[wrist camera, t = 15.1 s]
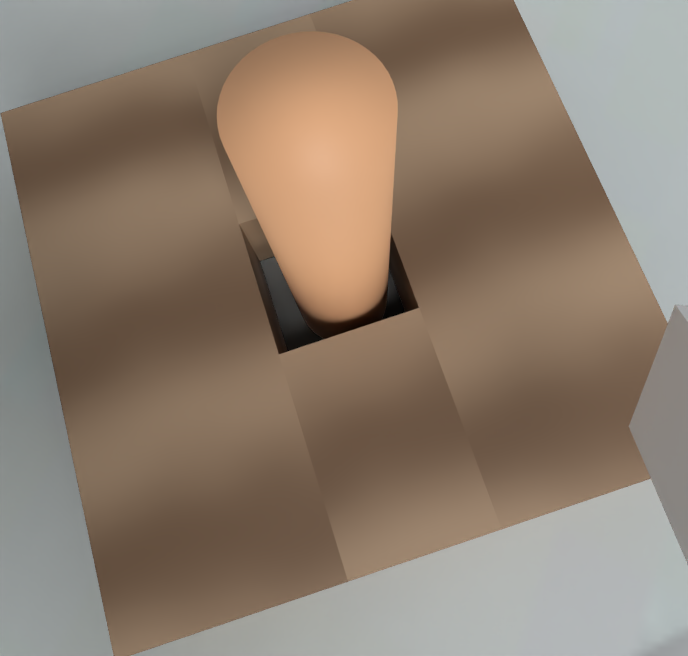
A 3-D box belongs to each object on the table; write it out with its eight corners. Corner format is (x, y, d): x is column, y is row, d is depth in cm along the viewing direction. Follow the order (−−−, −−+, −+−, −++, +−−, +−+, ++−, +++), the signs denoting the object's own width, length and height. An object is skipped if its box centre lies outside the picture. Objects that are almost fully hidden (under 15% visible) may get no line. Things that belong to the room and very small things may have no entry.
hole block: (53, 163, 24) (0, 113, 21) (476, 27, 25) (492, -45, 21) (159, 628, 20) (114, 660, 17) (670, 455, 20) (728, 452, 17)
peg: (289, 274, 23) (196, 62, 11) (370, 248, 23) (363, 9, 11) (314, 354, 22) (244, 216, 10) (398, 326, 22) (423, 158, 10)
